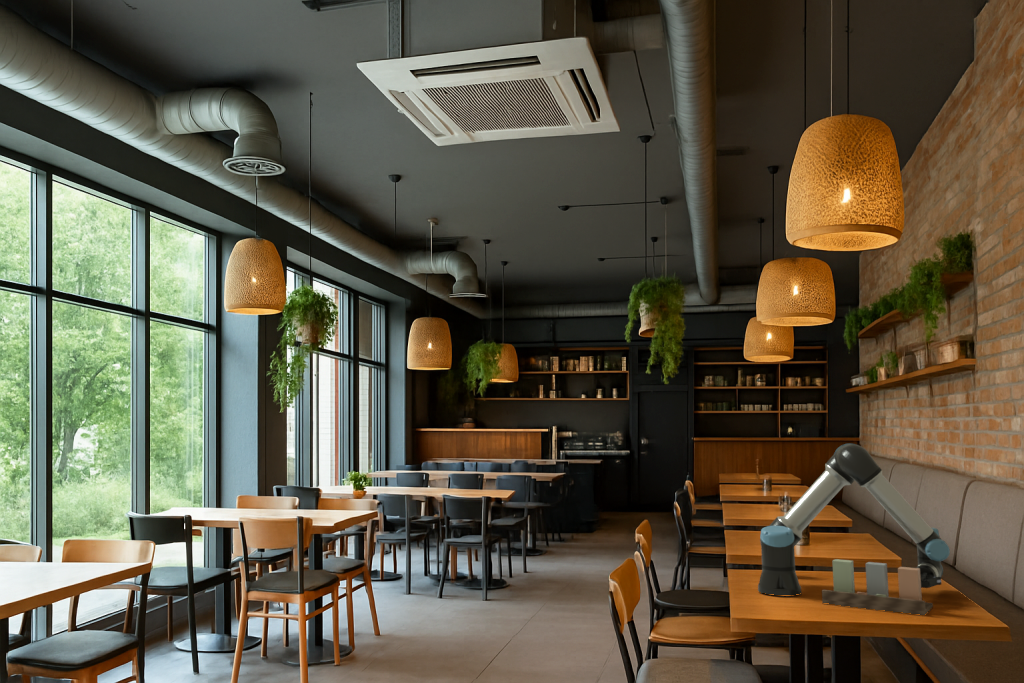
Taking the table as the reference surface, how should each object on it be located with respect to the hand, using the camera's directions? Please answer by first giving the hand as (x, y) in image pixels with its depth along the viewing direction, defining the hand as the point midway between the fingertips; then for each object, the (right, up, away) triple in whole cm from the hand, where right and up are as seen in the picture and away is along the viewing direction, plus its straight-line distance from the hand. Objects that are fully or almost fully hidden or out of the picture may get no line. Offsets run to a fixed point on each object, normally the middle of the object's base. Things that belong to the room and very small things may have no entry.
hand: (912, 586), depth 270 cm
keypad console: (-9, -8, +6) cm, 13 cm away
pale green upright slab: (-17, -7, +14) cm, 23 cm away
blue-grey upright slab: (-8, -7, +7) cm, 13 cm away
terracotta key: (-2, -6, -2) cm, 6 cm away
